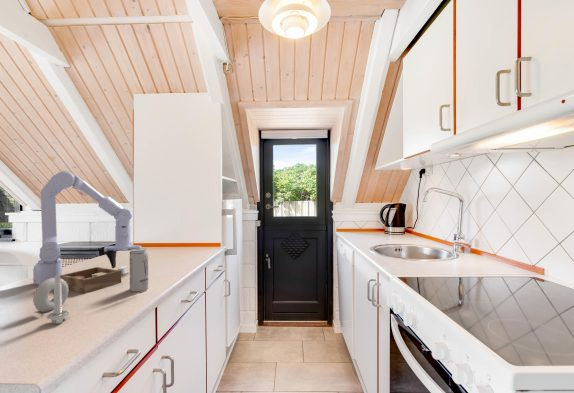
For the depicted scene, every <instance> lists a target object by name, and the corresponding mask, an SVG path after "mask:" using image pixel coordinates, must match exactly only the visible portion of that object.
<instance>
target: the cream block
mask: <svg viewBox="0 0 574 393" xmlns="http://www.w3.org/2000/svg"><path fill="white" fill-rule="evenodd" d="M103 274H107V273H104V272H101V273H96V274H92V277H96V276H99V275H103Z"/></svg>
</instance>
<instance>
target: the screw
mask: <svg viewBox="0 0 574 393" xmlns="http://www.w3.org/2000/svg"><path fill="white" fill-rule="evenodd" d="M61 286H62V285H61V278H60V275H56V276H55V285H54V287H53V288H54V289H53V298H52V299H54V300H53V301H54V310H53V311H52V312H50V313H49V314H48V315H46V319H47V320H51V325H58V324H61V323H64V321H65V319H64V318H65V317H67V316H69V315H70V313H69V311H68V310H62V309H63V305H62V304H61V303H62V302H61V301H62V300H61V299H62V298H61V297H62V295H61V294H62V293H61V292H62V291H61V290H62V289H61V288H62V287H61ZM61 305H62V306H61Z"/></svg>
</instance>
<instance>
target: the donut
mask: <svg viewBox="0 0 574 393" xmlns="http://www.w3.org/2000/svg"><path fill="white" fill-rule="evenodd" d="M54 285H55V278H50V279H48V280H45V281H44V282H43V283H41V284H40V285H38V287H37V288H36V289H35V292H34V294H33V300H32V301H33V305H34V307H35V309H36V310H38V311H39V312H41V313H49V312H53V311H54V301H53V300H54V299H53V298H52V299H50V300H49V294H50V293H51V292H52V291H54V288H53V287H54ZM61 285H62V286H61V287H62V288H61V289H62V290H61V291H62V292H61V293H62V294H61V295H62V297H61V298H62V299H61V300H62V301H61V302H62V303H61V304H62V305H61V306H62V307H63V305H64V304H65V302H66V300H67V299H68V296H69V289H68V285H67V283H66V282H65V281H64V280H63V279H61Z"/></svg>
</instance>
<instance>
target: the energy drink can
mask: <svg viewBox="0 0 574 393" xmlns="http://www.w3.org/2000/svg"><path fill="white" fill-rule="evenodd" d="M131 251H132V252H131ZM131 251H130V252H131V253H130V252H129V291H131V292H139V294H142V293H145V292H147V290H148V289H149V252H148V250H147V248H143V247H141V248H139V249H133V250H131Z"/></svg>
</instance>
